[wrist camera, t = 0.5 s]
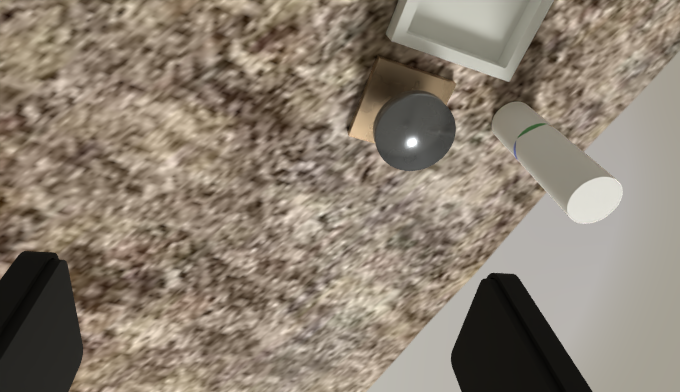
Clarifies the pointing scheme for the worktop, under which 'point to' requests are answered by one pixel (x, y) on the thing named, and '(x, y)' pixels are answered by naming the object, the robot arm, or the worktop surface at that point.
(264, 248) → the worktop surface
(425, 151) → the knob on plate
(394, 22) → the tray
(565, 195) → the tube
